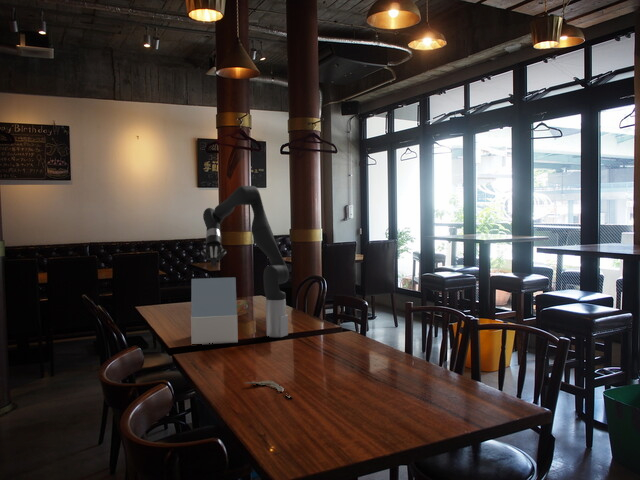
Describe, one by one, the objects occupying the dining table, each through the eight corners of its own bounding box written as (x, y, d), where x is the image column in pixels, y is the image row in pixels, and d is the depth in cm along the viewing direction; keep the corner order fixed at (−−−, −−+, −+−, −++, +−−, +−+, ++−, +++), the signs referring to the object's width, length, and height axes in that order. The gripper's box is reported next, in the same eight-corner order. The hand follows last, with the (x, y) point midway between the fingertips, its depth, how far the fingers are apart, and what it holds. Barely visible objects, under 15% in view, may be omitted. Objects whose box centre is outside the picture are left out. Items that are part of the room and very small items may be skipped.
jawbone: (262, 382, 172) (263, 376, 172) (309, 395, 160) (309, 389, 160) (243, 387, 165) (244, 381, 165) (291, 401, 152) (291, 395, 152)
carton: (193, 335, 237) (192, 310, 236) (236, 333, 241) (235, 308, 240) (191, 345, 219) (190, 317, 219) (237, 342, 223) (237, 315, 223)
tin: (230, 317, 279) (230, 302, 279) (226, 316, 281) (226, 302, 281) (249, 313, 291) (249, 298, 291) (245, 312, 293) (245, 298, 292)
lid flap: (191, 279, 227) (191, 278, 226) (235, 277, 231) (235, 277, 230) (191, 317, 219) (191, 316, 218) (236, 315, 223) (236, 314, 222)
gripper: (199, 234, 251) (199, 260, 240) (226, 233, 254) (227, 260, 243) (200, 244, 257) (200, 270, 245) (226, 243, 260) (227, 269, 248)
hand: (213, 265), depth 244 cm, fingers closed
